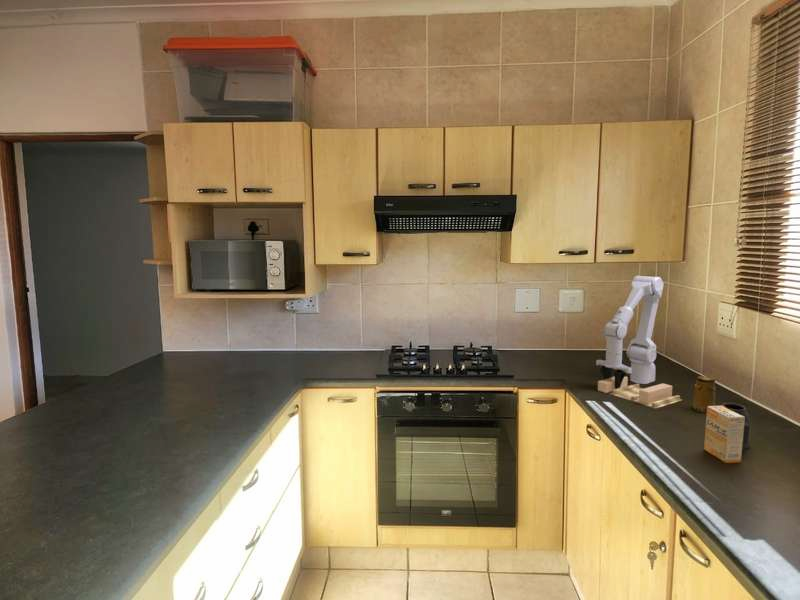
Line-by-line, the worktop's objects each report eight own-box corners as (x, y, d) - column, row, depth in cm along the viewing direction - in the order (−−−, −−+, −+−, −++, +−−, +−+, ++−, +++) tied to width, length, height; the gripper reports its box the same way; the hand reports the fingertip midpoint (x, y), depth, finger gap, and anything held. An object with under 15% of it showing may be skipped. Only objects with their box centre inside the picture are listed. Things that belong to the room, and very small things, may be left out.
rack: (636, 388, 187) (636, 382, 187) (682, 402, 171) (682, 396, 171) (609, 395, 180) (609, 389, 179) (655, 410, 164) (655, 404, 163)
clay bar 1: (618, 385, 191) (619, 375, 190) (627, 388, 188) (627, 377, 187) (597, 392, 184) (598, 381, 183) (606, 395, 181) (606, 383, 180)
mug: (707, 435, 143) (709, 400, 141) (741, 437, 141) (743, 401, 139) (725, 453, 131) (728, 414, 130) (762, 455, 129) (765, 416, 128)
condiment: (700, 407, 166) (702, 374, 165) (725, 414, 159) (727, 380, 157) (686, 410, 163) (688, 377, 161) (712, 418, 155) (714, 383, 154)
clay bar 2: (662, 394, 177) (663, 383, 176) (671, 397, 174) (672, 385, 173) (638, 401, 170) (639, 389, 170) (648, 404, 167) (648, 392, 166)
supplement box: (702, 450, 134) (705, 405, 132) (718, 449, 134) (721, 404, 132) (725, 463, 125) (728, 416, 124) (742, 462, 126) (745, 415, 124)
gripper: (591, 350, 188) (590, 383, 190) (623, 358, 176) (622, 393, 177) (603, 348, 192) (602, 380, 193) (636, 355, 179) (634, 390, 181)
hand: (612, 386), depth 186 cm, fingers closed on clay bar 1, 4 cm apart
